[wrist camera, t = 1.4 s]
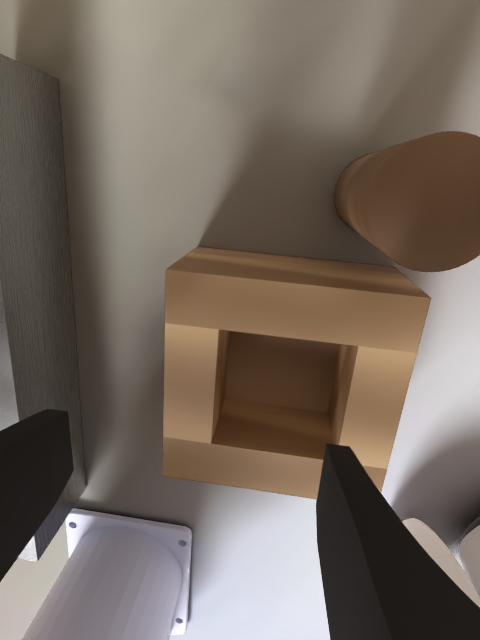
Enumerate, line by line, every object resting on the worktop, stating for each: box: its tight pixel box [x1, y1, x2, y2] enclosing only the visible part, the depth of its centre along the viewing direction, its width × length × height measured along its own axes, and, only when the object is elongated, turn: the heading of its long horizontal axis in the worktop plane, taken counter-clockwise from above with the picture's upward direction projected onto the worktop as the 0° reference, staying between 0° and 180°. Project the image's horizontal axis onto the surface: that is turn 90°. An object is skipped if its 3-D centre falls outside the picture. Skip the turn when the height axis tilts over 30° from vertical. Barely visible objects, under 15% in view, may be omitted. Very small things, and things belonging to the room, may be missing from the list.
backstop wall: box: [0, 54, 86, 562], centre depth 18 cm, size 22×2×5 cm, turn 176°
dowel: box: [334, 131, 480, 272], centre depth 13 cm, size 3×3×8 cm
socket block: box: [162, 247, 431, 499], centre depth 17 cm, size 9×9×5 cm
